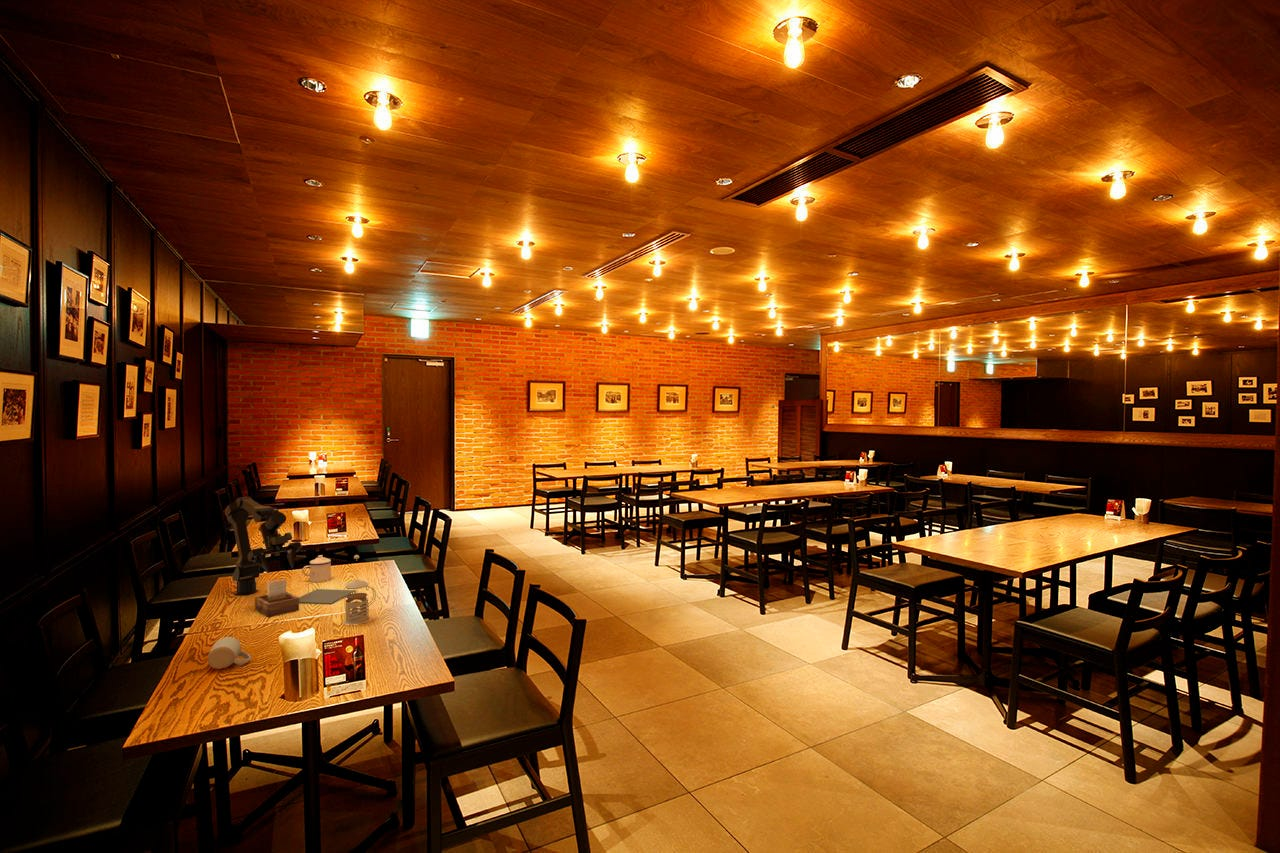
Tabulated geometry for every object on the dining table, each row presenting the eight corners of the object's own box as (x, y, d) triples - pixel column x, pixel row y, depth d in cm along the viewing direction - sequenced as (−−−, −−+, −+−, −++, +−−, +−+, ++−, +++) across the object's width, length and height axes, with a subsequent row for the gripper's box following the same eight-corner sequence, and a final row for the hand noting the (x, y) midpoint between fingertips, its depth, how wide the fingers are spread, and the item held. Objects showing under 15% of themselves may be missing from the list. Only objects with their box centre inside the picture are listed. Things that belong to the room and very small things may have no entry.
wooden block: (267, 604, 238) (267, 582, 238) (284, 601, 242) (284, 579, 242) (269, 605, 236) (269, 583, 236) (286, 602, 241) (286, 579, 241)
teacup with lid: (332, 576, 289) (332, 552, 288) (330, 581, 280) (330, 556, 280) (303, 579, 284) (303, 554, 284) (301, 584, 276) (300, 559, 276)
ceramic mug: (206, 672, 182) (206, 647, 182) (212, 662, 189) (213, 637, 189) (247, 667, 186) (248, 642, 186) (252, 657, 193) (252, 633, 193)
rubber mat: (289, 603, 248) (289, 601, 248) (317, 590, 266) (317, 589, 266) (331, 604, 247) (331, 603, 247) (356, 591, 265) (355, 590, 265)
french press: (338, 621, 227) (337, 555, 226) (369, 613, 235) (369, 550, 235) (348, 627, 220) (348, 559, 220) (380, 619, 229) (380, 554, 228)
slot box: (255, 609, 240) (255, 597, 240) (285, 603, 248) (285, 591, 248) (267, 617, 231) (267, 604, 231) (298, 610, 239) (298, 597, 239)
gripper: (253, 530, 237) (263, 566, 233) (302, 523, 253) (312, 557, 248) (242, 542, 243) (252, 578, 238) (291, 535, 258) (301, 568, 253)
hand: (280, 569), depth 244 cm, fingers open, 9 cm apart
